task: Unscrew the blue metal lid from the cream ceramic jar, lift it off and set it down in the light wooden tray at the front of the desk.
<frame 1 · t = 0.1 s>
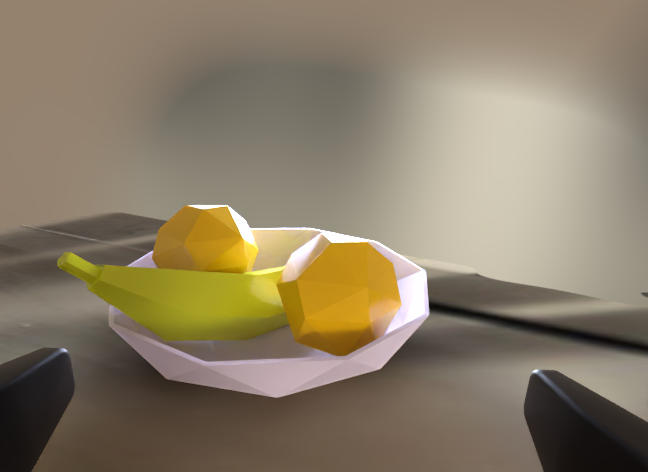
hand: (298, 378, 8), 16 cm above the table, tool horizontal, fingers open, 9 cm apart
fruit bowl: (263, 336, 39), on the table
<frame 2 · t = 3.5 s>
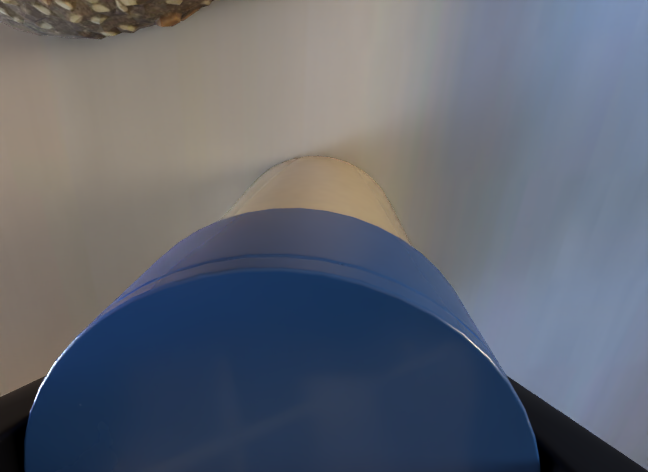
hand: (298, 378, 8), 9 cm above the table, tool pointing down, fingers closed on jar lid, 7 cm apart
jar: (315, 236, 17), on the table
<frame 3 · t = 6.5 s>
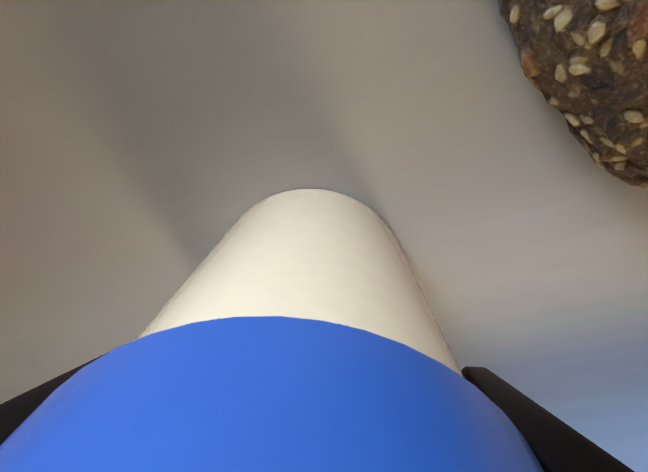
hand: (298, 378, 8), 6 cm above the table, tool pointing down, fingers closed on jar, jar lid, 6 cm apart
jar: (310, 283, 14), on the table, touching gripper
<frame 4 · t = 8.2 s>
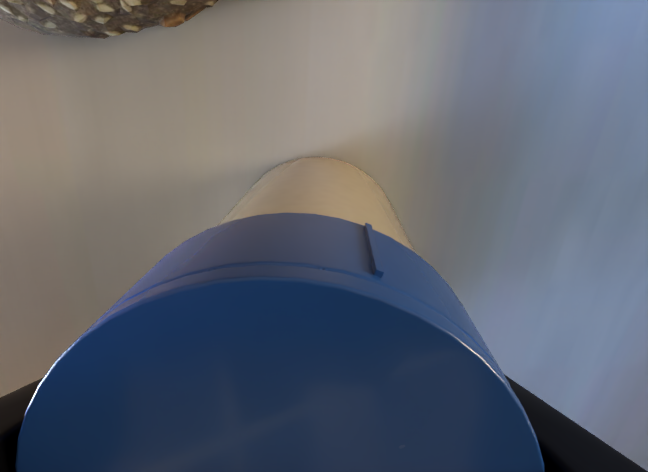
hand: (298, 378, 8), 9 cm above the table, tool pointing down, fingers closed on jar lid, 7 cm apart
jar: (316, 237, 17), on the table
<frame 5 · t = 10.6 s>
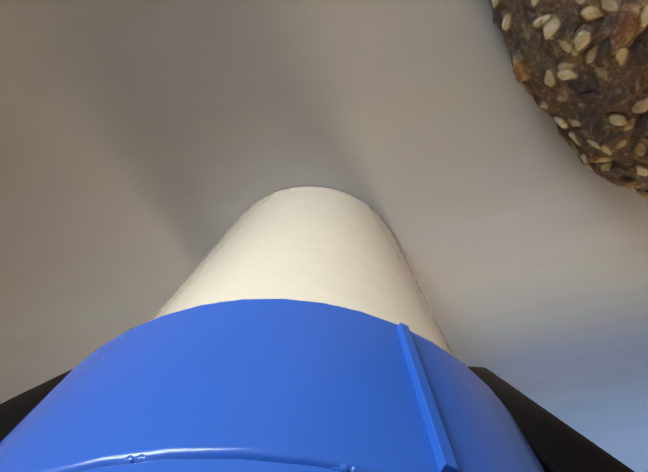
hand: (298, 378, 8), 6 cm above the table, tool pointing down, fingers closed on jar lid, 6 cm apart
jar: (310, 277, 14), on the table, touching gripper
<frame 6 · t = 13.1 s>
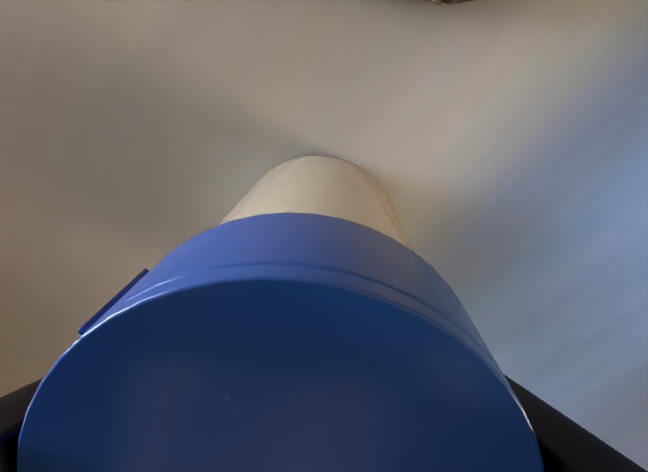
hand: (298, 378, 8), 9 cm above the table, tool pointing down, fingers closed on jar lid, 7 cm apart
jar: (316, 235, 17), on the table
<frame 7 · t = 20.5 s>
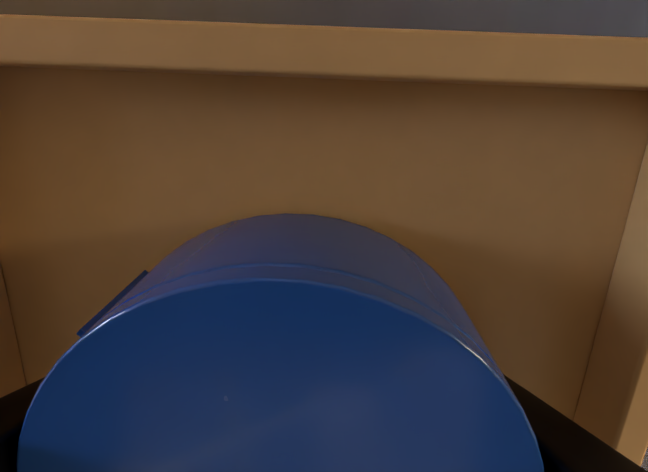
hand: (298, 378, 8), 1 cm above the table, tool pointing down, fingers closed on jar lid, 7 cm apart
tray: (301, 362, 9), on the table
when the fingers open (1 cm above the table, at t = 29.0 s): jar lid drops 1 cm, resting on tray.
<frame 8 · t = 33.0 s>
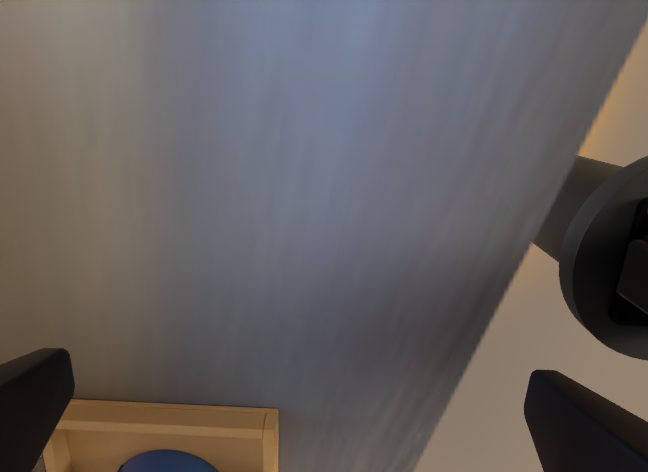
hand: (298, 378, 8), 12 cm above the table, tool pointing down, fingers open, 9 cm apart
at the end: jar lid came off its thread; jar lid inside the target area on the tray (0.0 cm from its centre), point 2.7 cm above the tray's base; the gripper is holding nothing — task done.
